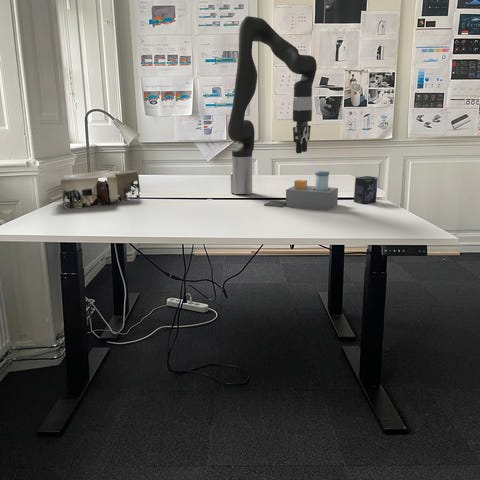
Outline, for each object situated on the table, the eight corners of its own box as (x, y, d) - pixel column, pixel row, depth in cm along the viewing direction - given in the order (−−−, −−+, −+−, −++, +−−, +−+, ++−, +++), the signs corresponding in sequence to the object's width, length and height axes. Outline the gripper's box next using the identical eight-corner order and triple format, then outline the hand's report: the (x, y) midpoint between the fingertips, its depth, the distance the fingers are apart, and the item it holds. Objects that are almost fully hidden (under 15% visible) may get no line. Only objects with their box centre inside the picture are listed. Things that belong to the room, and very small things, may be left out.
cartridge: (312, 202, 197) (313, 172, 193) (317, 199, 201) (317, 170, 198) (325, 203, 194) (326, 173, 191) (329, 200, 199) (330, 171, 196)
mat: (263, 205, 201) (263, 204, 201) (271, 202, 208) (271, 200, 208) (281, 207, 198) (281, 205, 197) (289, 203, 204) (289, 202, 204)
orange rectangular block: (294, 193, 200) (294, 181, 199) (297, 191, 203) (297, 179, 202) (303, 193, 198) (303, 181, 197) (306, 192, 202) (307, 180, 200)
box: (363, 204, 201) (365, 178, 198) (353, 202, 206) (354, 177, 203) (376, 202, 206) (378, 177, 203) (366, 199, 210) (367, 175, 207)
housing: (285, 206, 199) (286, 189, 197) (296, 201, 209) (296, 185, 207) (328, 210, 191) (329, 192, 189) (337, 204, 201) (338, 187, 199)
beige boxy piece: (143, 205, 206) (141, 174, 202) (63, 210, 197) (60, 178, 193) (139, 197, 222) (137, 169, 218) (65, 202, 213) (62, 172, 210)
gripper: (299, 108, 200) (299, 150, 204) (286, 109, 187) (286, 153, 192) (317, 108, 196) (316, 151, 201) (305, 109, 184) (304, 154, 189)
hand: (301, 152), depth 196 cm, fingers open, 5 cm apart
